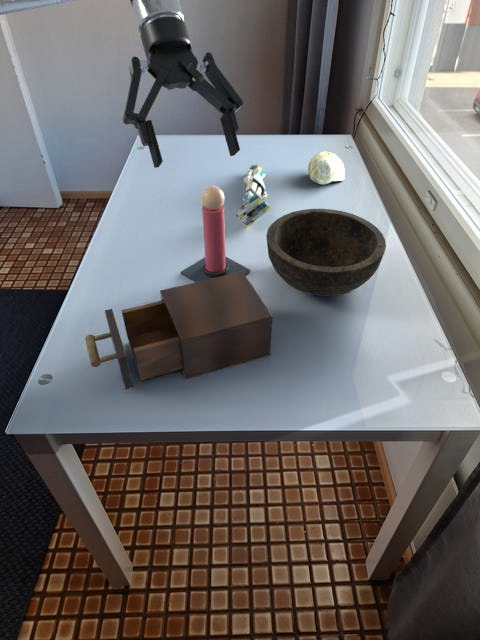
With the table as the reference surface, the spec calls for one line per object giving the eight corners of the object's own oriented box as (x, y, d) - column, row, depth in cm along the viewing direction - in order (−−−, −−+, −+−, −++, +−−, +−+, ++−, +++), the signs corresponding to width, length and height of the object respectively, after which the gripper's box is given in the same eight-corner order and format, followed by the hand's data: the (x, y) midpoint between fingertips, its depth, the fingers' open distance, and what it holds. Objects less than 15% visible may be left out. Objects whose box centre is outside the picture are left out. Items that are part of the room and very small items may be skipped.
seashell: (342, 167, 131) (350, 141, 122) (342, 196, 128) (351, 172, 119) (305, 164, 131) (311, 138, 122) (304, 193, 128) (310, 169, 119)
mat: (180, 273, 95) (180, 271, 95) (215, 253, 101) (215, 251, 101) (215, 294, 90) (215, 292, 90) (250, 272, 96) (250, 269, 95)
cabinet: (185, 379, 75) (181, 340, 69) (165, 328, 83) (159, 290, 78) (270, 355, 79) (272, 316, 73) (242, 309, 87) (242, 271, 82)
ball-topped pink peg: (207, 280, 93) (202, 196, 81) (199, 266, 96) (193, 183, 84) (232, 274, 94) (231, 191, 82) (223, 260, 98) (221, 178, 86)
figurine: (254, 192, 101) (260, 146, 125) (227, 216, 105) (238, 167, 129) (276, 215, 104) (278, 166, 128) (249, 237, 108) (256, 186, 132)
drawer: (99, 397, 71) (89, 366, 66) (88, 346, 79) (79, 316, 74) (209, 365, 76) (207, 334, 71) (189, 321, 83) (186, 290, 79)
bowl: (343, 243, 104) (350, 201, 97) (397, 303, 89) (410, 258, 82) (249, 260, 99) (250, 218, 92) (290, 328, 83) (294, 282, 77)
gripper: (224, 39, 84) (255, 156, 86) (82, 46, 75) (119, 177, 76) (240, 11, 77) (273, 140, 79) (86, 15, 68) (127, 161, 69)
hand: (198, 158), depth 77 cm, fingers open, 13 cm apart
